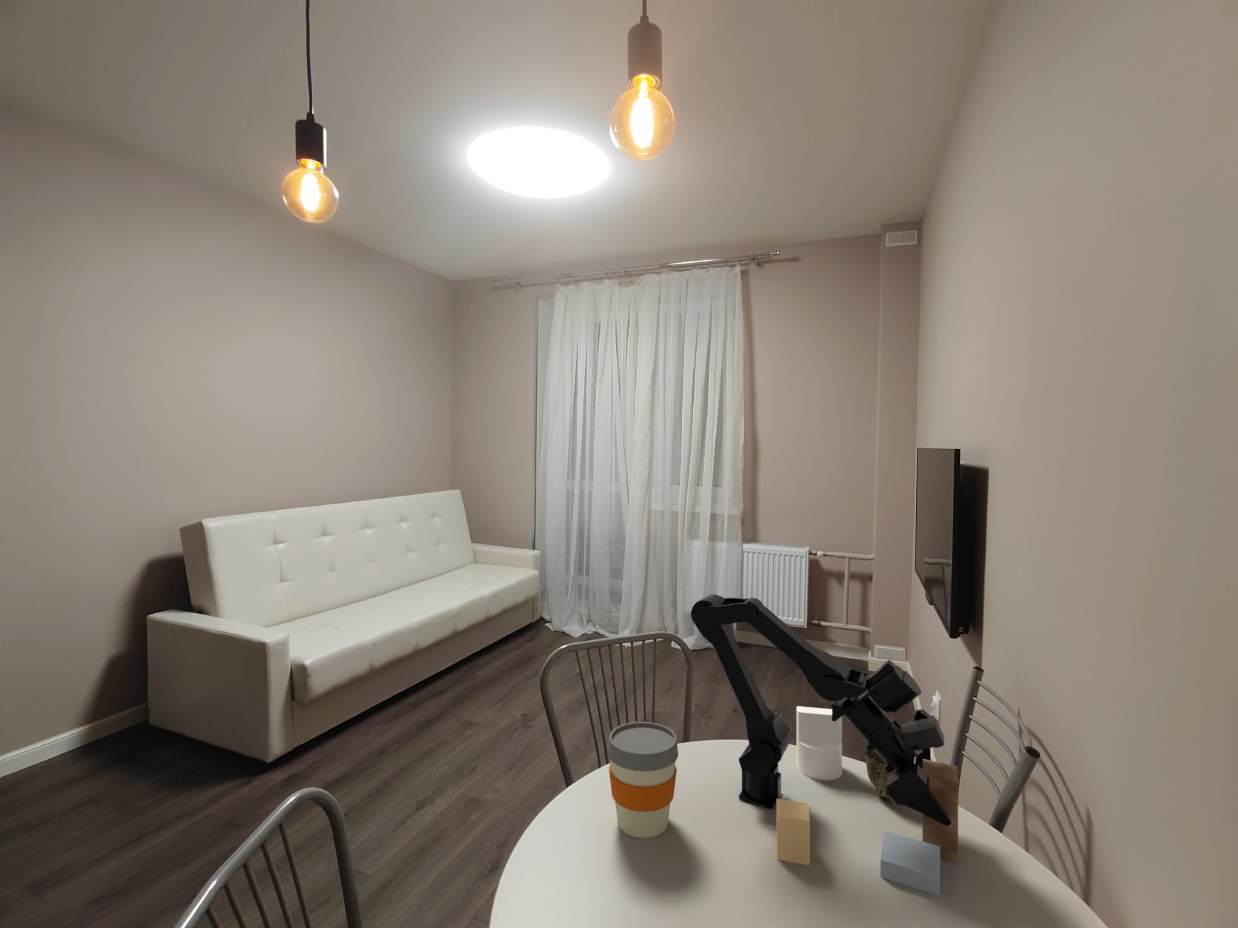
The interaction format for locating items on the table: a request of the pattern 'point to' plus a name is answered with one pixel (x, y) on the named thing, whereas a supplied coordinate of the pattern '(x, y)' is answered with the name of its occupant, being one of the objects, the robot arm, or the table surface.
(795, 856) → the ochre block
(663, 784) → the reusable coffee cup
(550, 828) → the table surface
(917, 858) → the slate block
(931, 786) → the walnut pillar
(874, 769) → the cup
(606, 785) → the table surface
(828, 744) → the cylinder with rectangular tab
